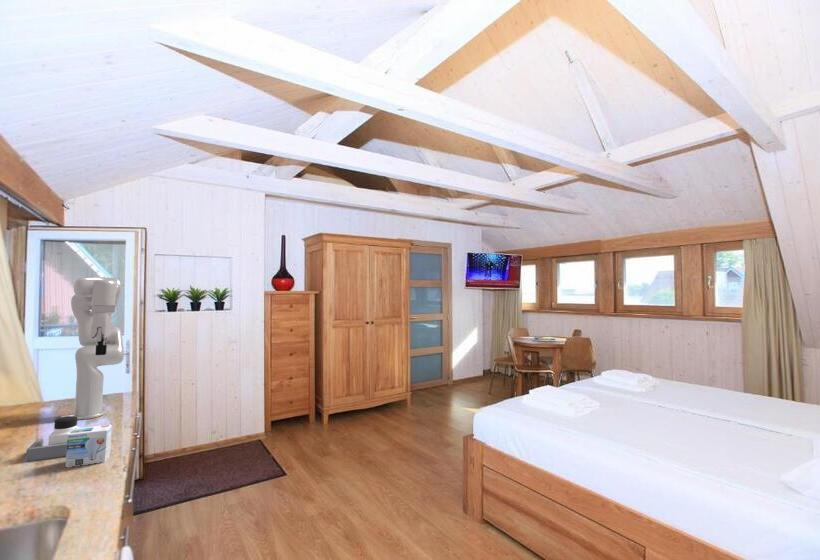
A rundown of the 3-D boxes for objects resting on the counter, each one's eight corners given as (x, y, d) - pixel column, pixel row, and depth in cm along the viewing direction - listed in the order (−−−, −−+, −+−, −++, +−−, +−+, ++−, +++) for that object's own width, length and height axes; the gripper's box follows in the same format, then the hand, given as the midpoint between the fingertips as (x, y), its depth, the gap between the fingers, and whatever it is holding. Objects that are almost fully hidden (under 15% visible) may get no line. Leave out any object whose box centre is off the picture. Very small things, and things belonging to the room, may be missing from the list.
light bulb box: (64, 468, 123) (66, 434, 123) (71, 460, 129) (73, 428, 129) (106, 462, 128) (107, 430, 128) (110, 454, 134) (112, 423, 134)
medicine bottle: (74, 453, 134) (76, 418, 135) (47, 456, 131) (49, 421, 131) (80, 445, 141) (81, 412, 141) (54, 449, 137) (56, 415, 138)
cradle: (37, 450, 136) (37, 439, 136) (87, 444, 142) (88, 433, 142) (25, 461, 127) (26, 449, 127) (80, 454, 134) (80, 442, 134)
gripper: (96, 309, 161) (93, 352, 160) (86, 310, 148) (84, 358, 147) (118, 309, 165) (115, 351, 164) (110, 310, 152) (108, 357, 151)
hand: (100, 354), depth 156 cm, fingers closed
